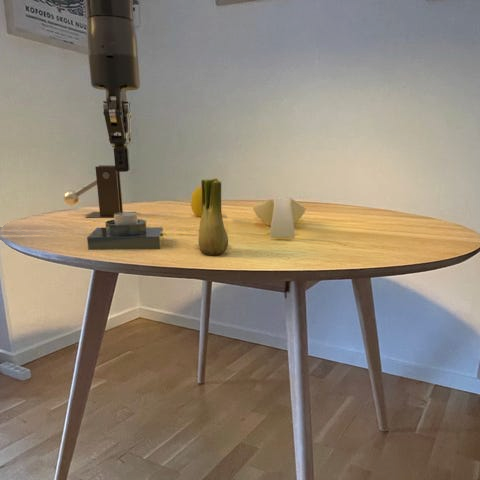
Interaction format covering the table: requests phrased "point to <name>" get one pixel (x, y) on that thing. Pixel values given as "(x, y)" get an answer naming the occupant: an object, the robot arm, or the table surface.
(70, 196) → the flush lever
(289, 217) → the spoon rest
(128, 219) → the flush button
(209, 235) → the fennel bulb
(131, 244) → the button block
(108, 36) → the robot arm
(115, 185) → the lever bracket
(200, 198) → the lemon
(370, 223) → the table surface
